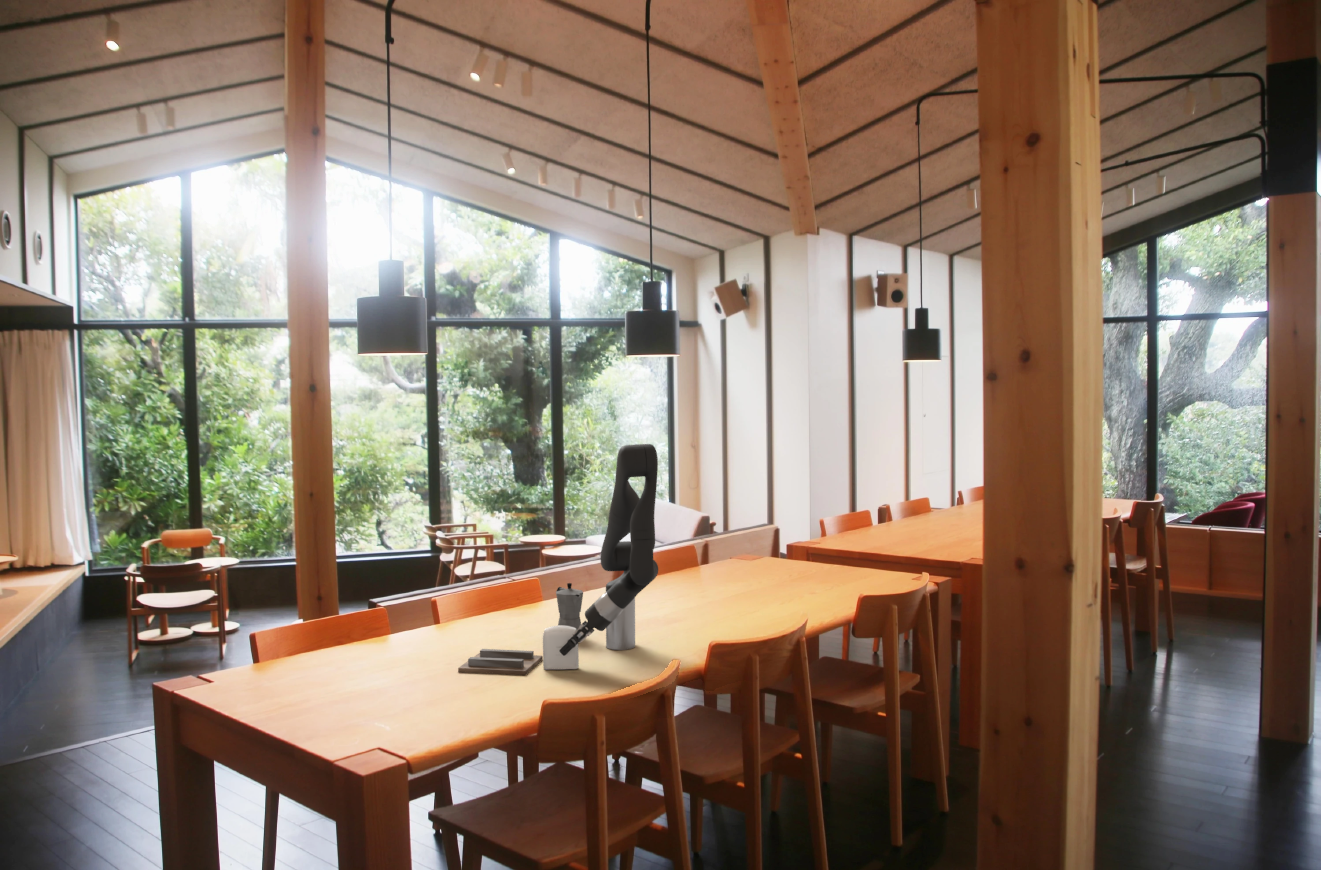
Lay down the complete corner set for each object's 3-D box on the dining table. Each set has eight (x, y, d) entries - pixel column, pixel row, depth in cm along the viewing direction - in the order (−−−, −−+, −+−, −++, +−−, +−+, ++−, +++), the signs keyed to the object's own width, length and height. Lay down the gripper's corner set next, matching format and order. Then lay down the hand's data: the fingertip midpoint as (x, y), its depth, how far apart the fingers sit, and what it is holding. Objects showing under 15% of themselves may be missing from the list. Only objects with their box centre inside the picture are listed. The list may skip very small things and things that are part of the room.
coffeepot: (591, 639, 283) (591, 584, 282) (566, 643, 277) (565, 587, 277) (570, 629, 296) (569, 577, 295) (545, 633, 290) (544, 580, 290)
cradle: (479, 656, 262) (479, 646, 262) (542, 659, 259) (542, 648, 259) (458, 672, 246) (458, 660, 246) (525, 675, 243) (525, 663, 243)
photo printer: (542, 670, 248) (541, 627, 247) (544, 666, 252) (543, 623, 251) (577, 670, 247) (577, 627, 247) (579, 665, 252) (579, 623, 251)
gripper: (601, 596, 255) (562, 635, 257) (589, 606, 241) (547, 647, 243) (619, 614, 254) (579, 653, 256) (608, 626, 240) (566, 667, 242)
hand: (564, 650), depth 249 cm, fingers closed on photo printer, 4 cm apart
